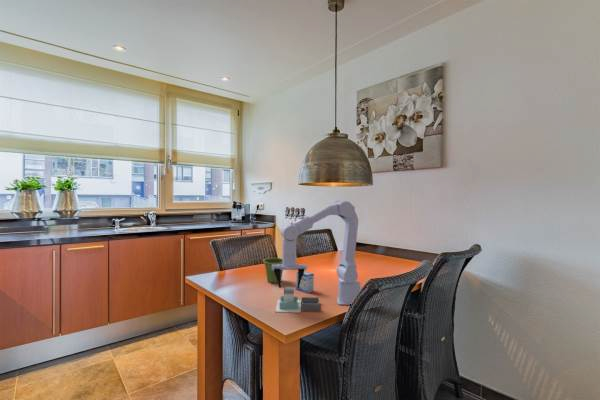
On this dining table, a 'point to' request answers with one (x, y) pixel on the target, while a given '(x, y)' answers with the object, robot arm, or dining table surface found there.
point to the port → (289, 305)
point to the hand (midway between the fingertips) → (289, 287)
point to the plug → (288, 294)
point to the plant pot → (269, 271)
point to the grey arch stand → (310, 303)
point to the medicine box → (305, 282)
